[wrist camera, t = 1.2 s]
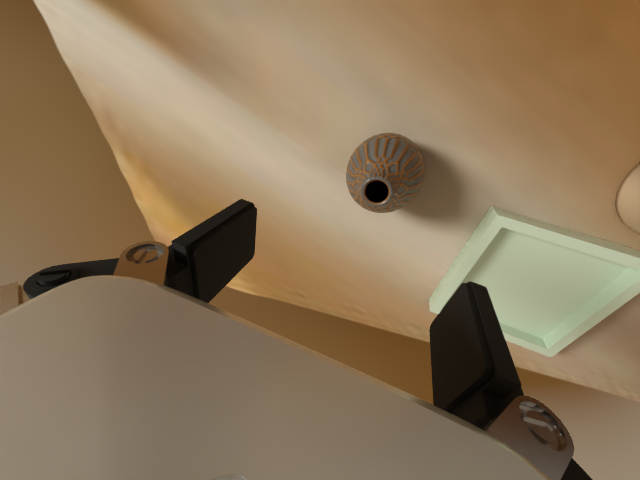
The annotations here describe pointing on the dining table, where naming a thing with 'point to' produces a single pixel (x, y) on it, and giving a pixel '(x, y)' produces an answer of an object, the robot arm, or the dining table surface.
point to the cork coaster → (630, 200)
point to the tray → (542, 278)
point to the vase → (385, 172)
